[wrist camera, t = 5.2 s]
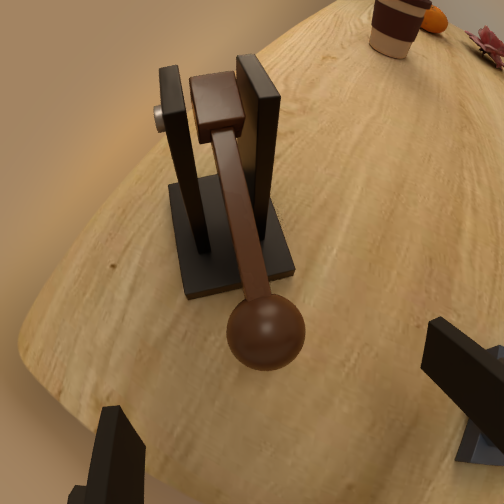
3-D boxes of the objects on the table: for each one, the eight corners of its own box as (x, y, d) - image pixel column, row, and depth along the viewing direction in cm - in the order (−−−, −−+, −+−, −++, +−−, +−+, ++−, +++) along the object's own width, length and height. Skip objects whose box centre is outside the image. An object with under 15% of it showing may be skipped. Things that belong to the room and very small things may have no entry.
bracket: (293, 275, 23) (342, 134, 11) (187, 300, 22) (124, 173, 10) (258, 174, 27) (266, 33, 15) (170, 192, 26) (132, 53, 14)
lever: (299, 347, 16) (322, 368, 12) (233, 365, 15) (240, 391, 12) (242, 97, 16) (249, 61, 12) (179, 108, 16) (172, 72, 12)
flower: (472, 47, 47) (490, 23, 39) (455, 34, 56) (471, 13, 47) (507, 83, 50) (525, 61, 42) (488, 65, 58) (504, 46, 50)
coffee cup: (354, 45, 42) (370, -27, 29) (370, 34, 46) (385, -27, 33) (406, 69, 40) (431, -3, 26) (416, 55, 44) (436, -6, 30)
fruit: (409, 26, 53) (416, 1, 46) (406, 17, 58) (412, -5, 50) (445, 42, 52) (454, 18, 45) (439, 31, 56) (447, 10, 49)
